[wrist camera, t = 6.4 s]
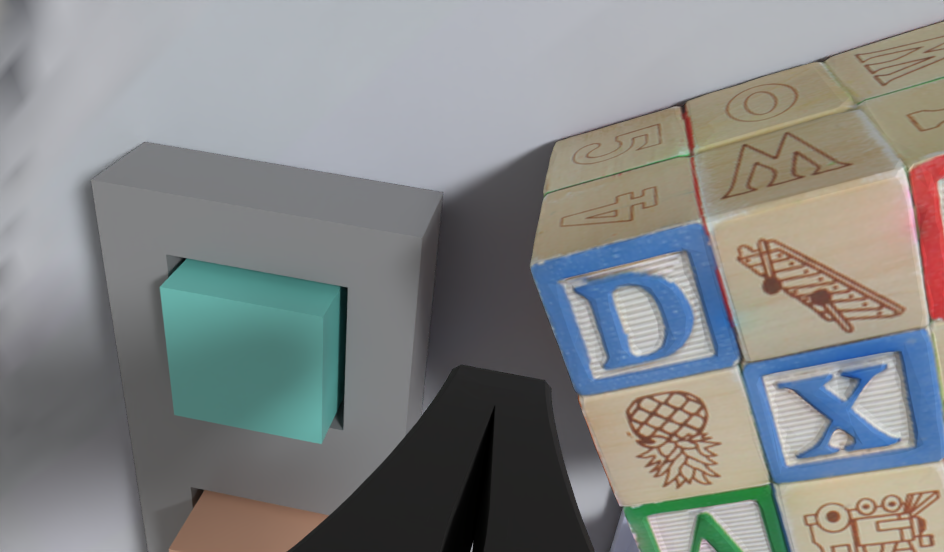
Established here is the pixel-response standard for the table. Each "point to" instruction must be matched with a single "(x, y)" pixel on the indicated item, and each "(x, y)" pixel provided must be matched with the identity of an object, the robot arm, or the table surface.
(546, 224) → the stack of blocks
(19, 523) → the table surface
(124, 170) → the button panel
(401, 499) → the robot arm
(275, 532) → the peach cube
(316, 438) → the teal button
